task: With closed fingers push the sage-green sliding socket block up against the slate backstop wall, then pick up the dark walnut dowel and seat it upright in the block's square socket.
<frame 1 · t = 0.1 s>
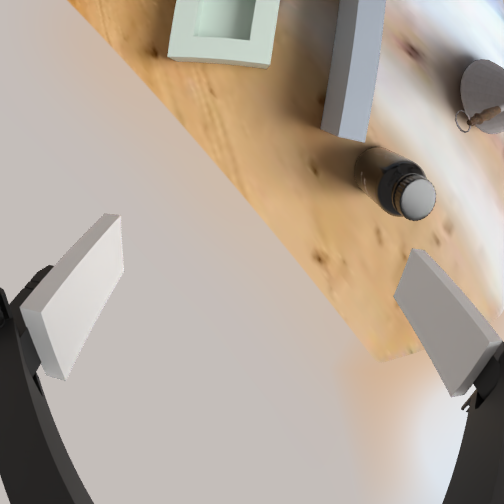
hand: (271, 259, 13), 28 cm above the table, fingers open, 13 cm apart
socket block: (226, 18, 28), point 2 cm above the table, slide at 0.0 cm
coffee pot: (455, 98, 34), on the table
supplement bottle: (375, 170, 40), on the table
backstop wall: (345, 44, 31), on the table
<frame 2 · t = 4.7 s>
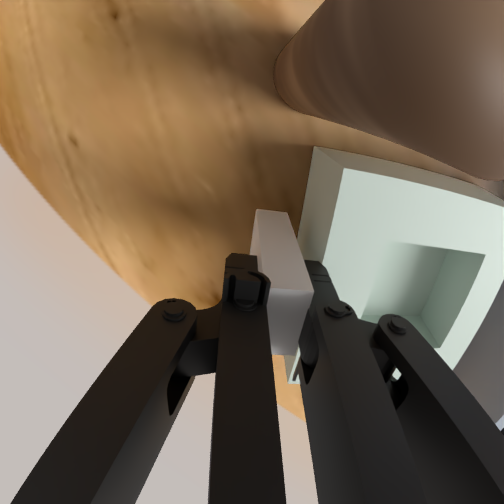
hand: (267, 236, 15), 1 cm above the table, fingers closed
socket block: (400, 276, 15), point 2 cm above the table, slide at 1.0 cm, touching gripper
dowel: (315, 76, 13), on the table
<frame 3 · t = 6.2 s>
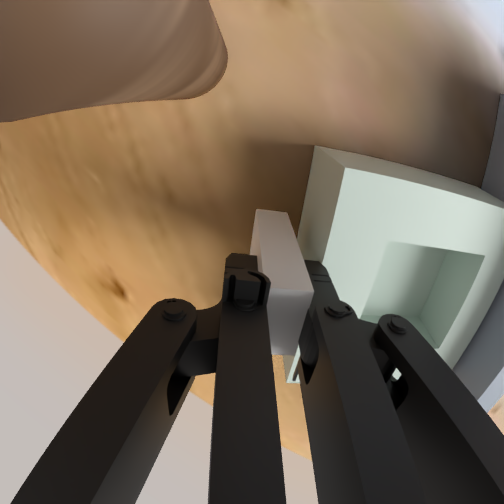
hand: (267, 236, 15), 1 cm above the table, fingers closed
socket block: (400, 277, 15), point 3 cm above the table, slide at 7.2 cm, touching gripper
dowel: (185, 60, 13), on the table
backstop wall: (468, 265, 18), on the table
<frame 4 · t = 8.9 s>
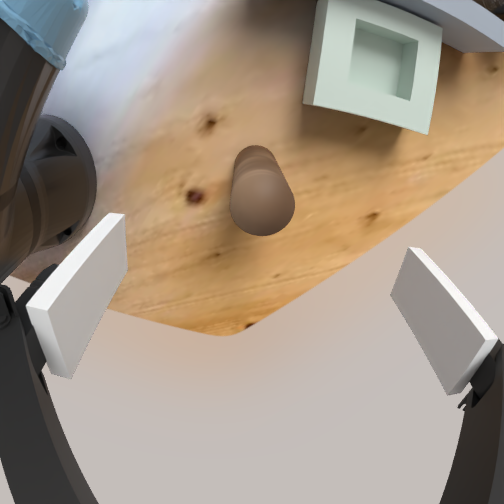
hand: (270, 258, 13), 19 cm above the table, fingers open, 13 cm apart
socket block: (374, 61, 23), point 2 cm above the table, slide at 7.3 cm
supplement bottle: (487, 8, 20), on the table
dowel: (255, 165, 30), on the table
backstop wall: (371, 1, 22), on the table
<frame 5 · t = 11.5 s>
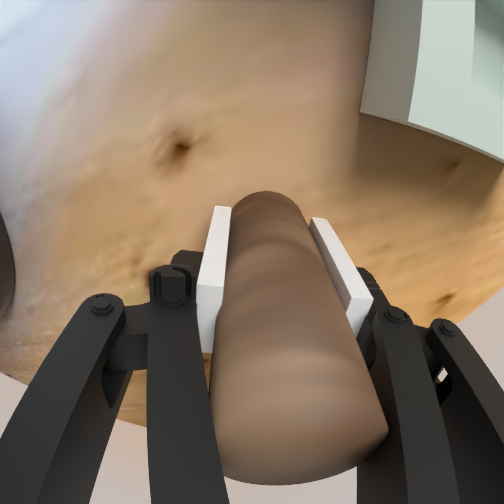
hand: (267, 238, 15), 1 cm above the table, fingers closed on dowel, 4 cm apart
socket block: (487, 48, 9), point 2 cm above the table, slide at 7.3 cm
dowel: (265, 228, 16), on the table, touching gripper
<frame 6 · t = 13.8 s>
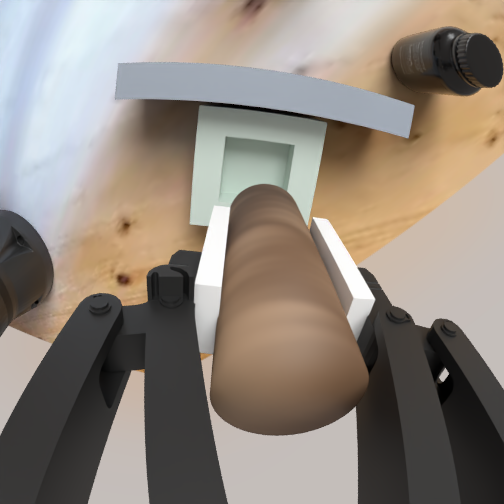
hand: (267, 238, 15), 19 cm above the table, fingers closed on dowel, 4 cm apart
socket block: (254, 167, 29), point 2 cm above the table, slide at 7.3 cm
supplement bottle: (415, 64, 26), on the table
dowel: (263, 217, 18), point 16 cm above the table, touching gripper
backstop wall: (263, 91, 28), on the table
when the fingers open (6 cm above the table, at t = 16.3 s): dowel stays where it is, resting on socket block.
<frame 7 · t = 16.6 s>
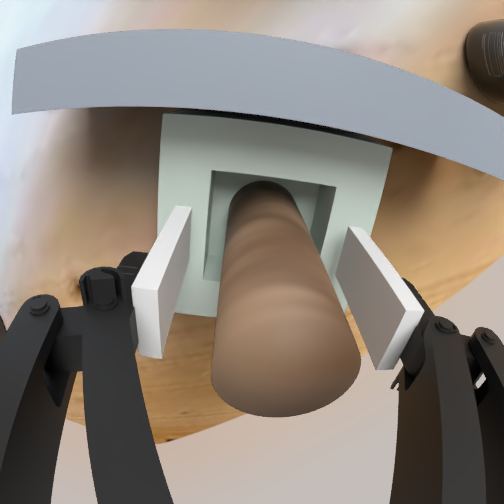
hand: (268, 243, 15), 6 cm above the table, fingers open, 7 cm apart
socket block: (263, 217, 18), point 3 cm above the table, slide at 7.3 cm, touching dowel
supplement bottle: (491, 62, 15), on the table
dowel: (262, 213, 18), point 2 cm above the table, touching socket block
backstop wall: (278, 88, 17), on the table
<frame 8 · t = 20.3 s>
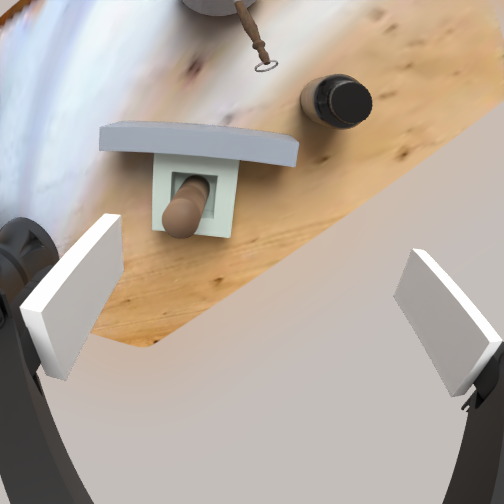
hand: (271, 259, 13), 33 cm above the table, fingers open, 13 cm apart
socket block: (195, 190, 43), point 2 cm above the table, slide at 7.3 cm, touching dowel
coffee pot: (233, 14, 33), on the table
supplement bottle: (323, 100, 40), on the table
dowel: (195, 188, 43), point 2 cm above the table, touching socket block
backstop wall: (202, 135, 41), on the table
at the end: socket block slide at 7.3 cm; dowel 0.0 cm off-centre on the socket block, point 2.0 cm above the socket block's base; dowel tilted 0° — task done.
